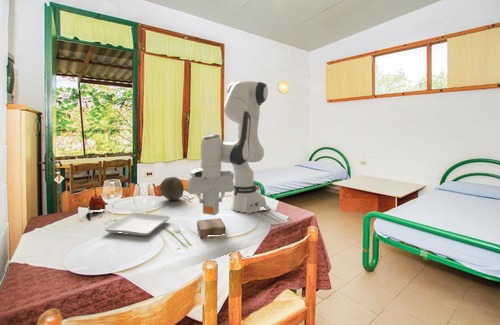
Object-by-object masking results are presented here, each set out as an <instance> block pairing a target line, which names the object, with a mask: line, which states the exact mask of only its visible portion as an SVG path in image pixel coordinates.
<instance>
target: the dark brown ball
mask: <svg viewBox="0 0 500 325" xmlns="http://www.w3.org/2000/svg"><path fill="white" fill-rule="evenodd" d="M184 189H185V188H184V184H183V182H182V181H181V179H180V178H178V177H176V176H171V177H166V178H164V179H163V180H162V181H161V183H160V186H159V190H160V193H161V195H162V196H163V197H164V198H166V199H167V200H169V201H177V200H179V199H181V198H182V196H183V194H184Z"/></svg>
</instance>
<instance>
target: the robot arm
mask: <svg viewBox="0 0 500 325" xmlns="http://www.w3.org/2000/svg"><path fill="white" fill-rule="evenodd" d="M268 94H269V89H268V86H267V84H266V83H265V82H262V81H254V80H253V81H252V80H247V81H246V80H245V81H242V80H241V81H237V80H235V81H232V82H230V83H229V85H228V86H227V97H226V99H225V102H224V107H223V111H224V114H225V116H226V117H227V118H228V119H229V120H230V121H232V122H234V123H236V124H238V126H237V131H238V134H237V135H238V137H237V140H235V141H233V142H231V141H224V140H222V139H221V137H220V135H219V134H214V133H213V134H212V133H211V134H206V135H204V136H202V139H201V141H200V142H201V144H200V158H201V162H200V167H198V168H197V167H196V168H195V169H192V170H190V173H189V174H190V176H189V178H188V179H187V193H188V194H189V195H197V198H198V199H199V200H198V201H199V204H203V197H202V198H201V195H202V194H203V193H209V188H217V192H219V193H220V195H219V203H222V202H223V198H224V196H225V193H231V192H233V200H232V205H231V208H230V209H231V210H232V211H234V210H235V211H234V212H237V211H243V212H247V213H249V214H253V213H252V212H255V213H258V212H257V211H260V207H264V208H265V209H266V211H269V209H271V208H270V205H268V204H267V202H266V198H265V196H263V195H262V194H261V193H259V190H260V186H258V185H255V184H254V179H255V178H254V177H255V176H254V170H253V169H252V168H251V167H250V165H249V163H258V162H260V161H262V160H263V158H264V156H265V149H264V147H263V146H262V145H261V143H260V140H259V137H258V135H259V134H258V129H259V123H260V122H259V121H260V112H261V111H260V107H261V105H262V104H263V103H265V102H266V101H267V98H268ZM222 163H225V164H231V165H232V168H233V172H232V171H230V170H227V171H225V170H224V171H222ZM243 212H242V213H243ZM247 213H246V214H247Z"/></svg>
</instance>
